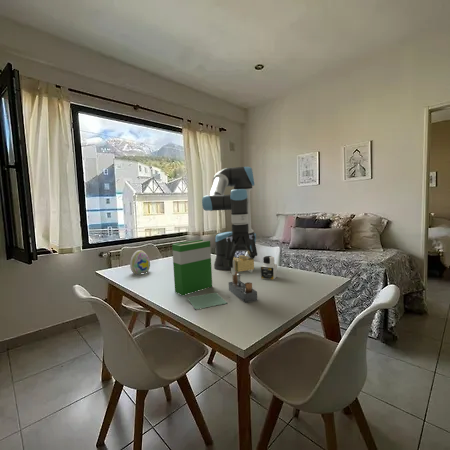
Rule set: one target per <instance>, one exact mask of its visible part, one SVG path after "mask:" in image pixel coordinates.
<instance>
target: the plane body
mask: <svg viewBox="0 0 450 450" xmlns="http://www.w3.org/2000/svg"><path fill="white" fill-rule="evenodd" d="M231 276H232V281H229V282H228V291H230V293H231V294H233V295H234V296H236V297H237V298H238V299H239V300H241V301H242V302H243V303H244V304H246V303H252V302H257V301H258V291H257V290H256V289H253V282H245V283H244V282H243V281H242V280H241V276H242V273H239V272H237V271H235V275H233V274H231Z"/></svg>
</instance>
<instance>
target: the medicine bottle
mask: <svg viewBox="0 0 450 450" xmlns="http://www.w3.org/2000/svg"><path fill="white" fill-rule="evenodd" d="M262 259H263V260H262V261H263V265H261V266H260V276H261V277H260V278H261V280H262V279H263V280H270V281H273V280H274V281H275V279H276V278H277V277H278V264H276V263H275V257H274V256H272V255H266V256H265V255H264V257H263V258H262Z"/></svg>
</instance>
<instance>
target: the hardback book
mask: <svg viewBox="0 0 450 450" xmlns="http://www.w3.org/2000/svg"><path fill="white" fill-rule="evenodd" d="M171 248H172V249H171V250H172V251H171V252H172V263H173V265H172V266H173V280H174V292H175V293H176V292H177V293H176V294H178V293H179V294H178V295H180V294H181V296H182V295H184V296H186V295H185V294H187V295H189V294H188V293H190V294H193V293H196V292H198V290H200V291H203V290H206V289H209V288H212V287H213V275H212V273H213V272H212V271H213V270H212V254H211V253H212V251H211V250H212V249H211V240H203V239H197V240H191V241H184V242H177V243H172V246H171ZM208 287H209V288H208ZM205 288H206V289H205ZM202 289H203V290H202ZM195 291H196V292H195ZM192 292H193V293H192Z"/></svg>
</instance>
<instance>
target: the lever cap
mask: <svg viewBox="0 0 450 450" xmlns="http://www.w3.org/2000/svg"><path fill="white" fill-rule="evenodd" d="M249 257H250V256H247V255H244V254H242V255H239V256H238V257H235V256H234V258H233V260H234V261H235V272H238V273H239V272H244V271H245V272H246V271H248V270H252V271H253V270H255V260H254V259H255V258H254V259H252V258H249Z"/></svg>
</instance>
